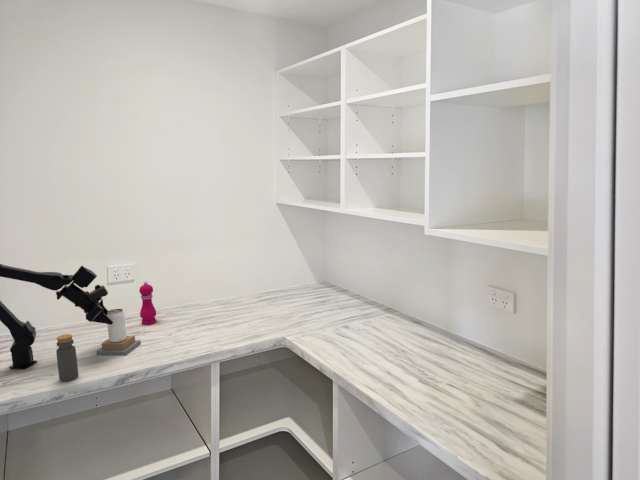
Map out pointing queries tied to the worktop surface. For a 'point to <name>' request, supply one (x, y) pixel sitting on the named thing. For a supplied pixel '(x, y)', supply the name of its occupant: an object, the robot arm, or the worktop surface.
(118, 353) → the plinth
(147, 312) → the pepper mill
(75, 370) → the bottle
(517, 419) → the worktop surface
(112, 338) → the can
